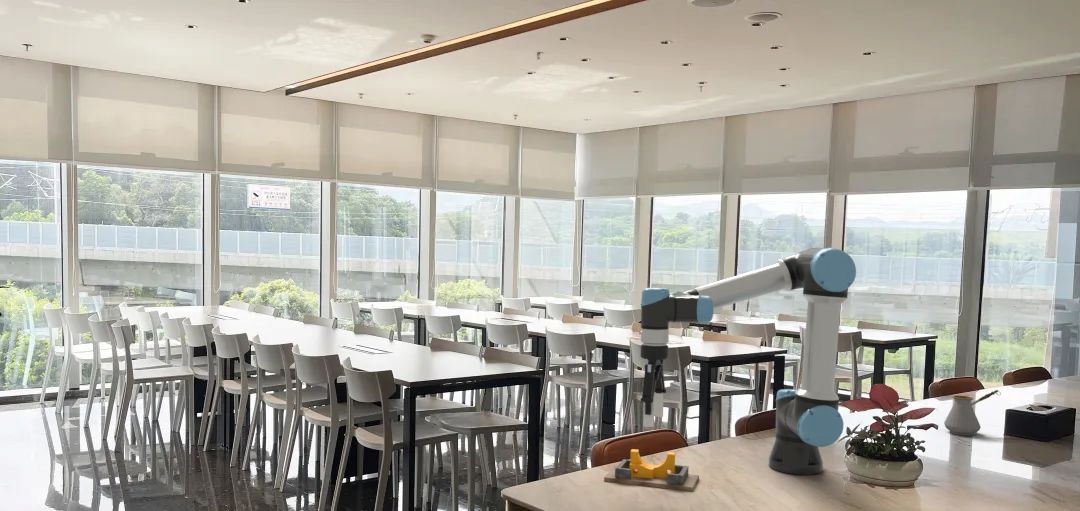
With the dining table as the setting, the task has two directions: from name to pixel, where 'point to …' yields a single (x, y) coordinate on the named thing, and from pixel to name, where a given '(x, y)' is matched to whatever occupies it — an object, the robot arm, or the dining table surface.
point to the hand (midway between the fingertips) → (653, 421)
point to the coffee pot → (964, 415)
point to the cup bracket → (673, 481)
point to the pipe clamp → (651, 466)
